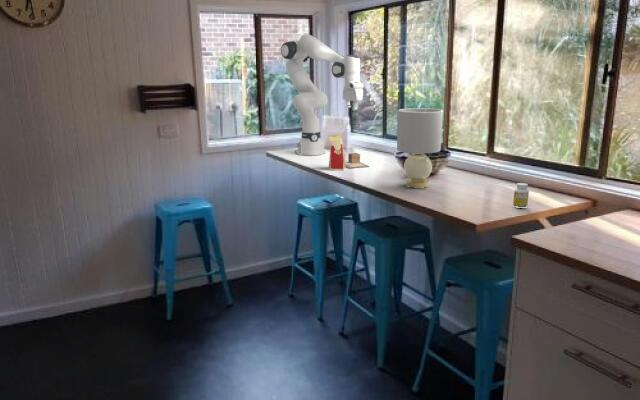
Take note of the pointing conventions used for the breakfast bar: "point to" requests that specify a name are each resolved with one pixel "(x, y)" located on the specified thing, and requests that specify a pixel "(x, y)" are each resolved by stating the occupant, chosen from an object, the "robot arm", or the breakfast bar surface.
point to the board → (355, 165)
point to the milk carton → (336, 153)
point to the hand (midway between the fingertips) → (352, 108)
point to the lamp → (419, 142)
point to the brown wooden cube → (353, 157)
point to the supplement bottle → (521, 195)
